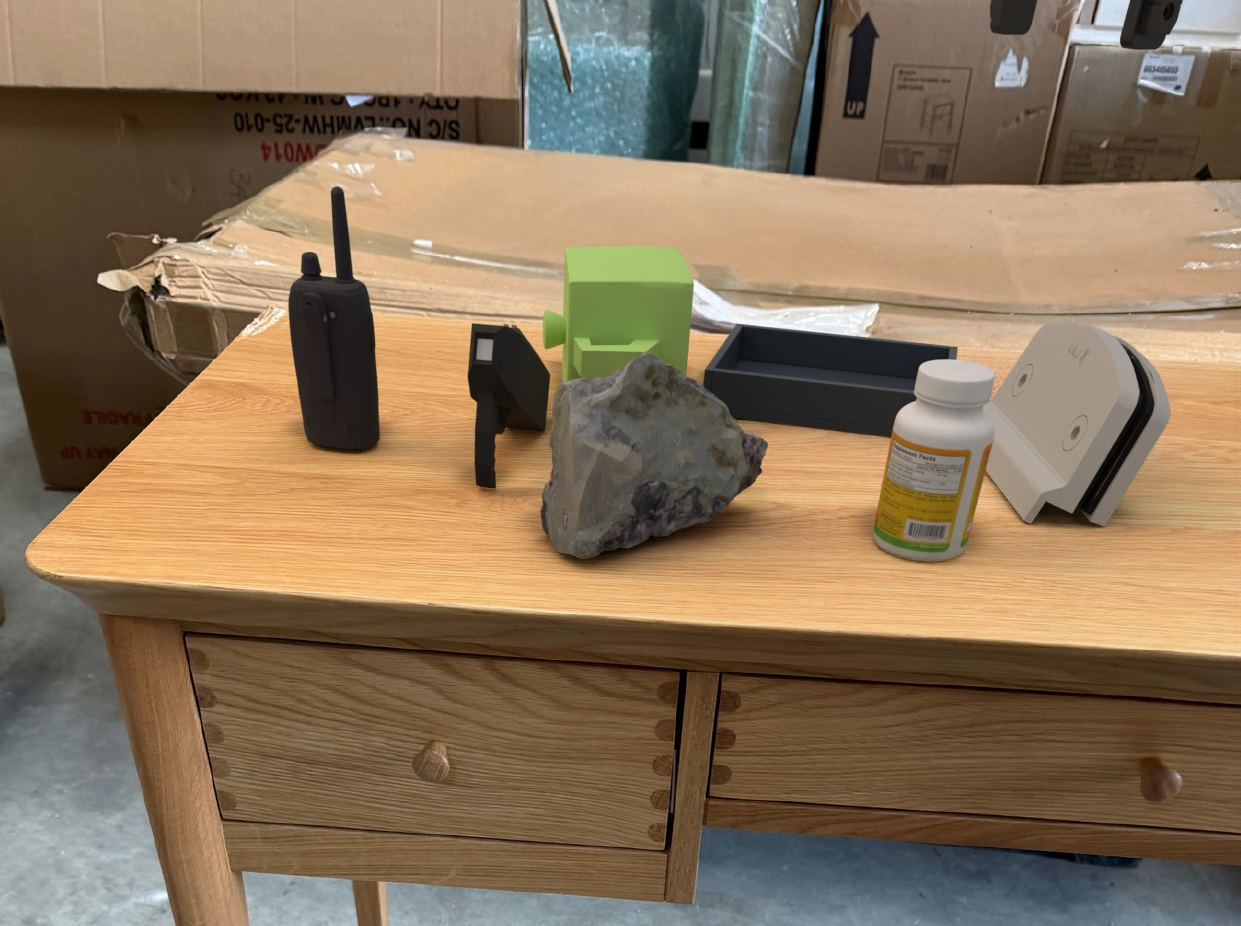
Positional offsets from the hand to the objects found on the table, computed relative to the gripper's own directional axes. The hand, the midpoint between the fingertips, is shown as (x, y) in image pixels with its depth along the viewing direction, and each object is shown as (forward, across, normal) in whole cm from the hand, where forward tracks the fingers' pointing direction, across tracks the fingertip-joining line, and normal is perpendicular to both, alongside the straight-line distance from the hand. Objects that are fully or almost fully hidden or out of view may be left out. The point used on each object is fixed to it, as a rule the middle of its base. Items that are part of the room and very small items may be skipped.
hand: (1070, 41), depth 57 cm
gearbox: (+24, +28, +9) cm, 38 cm away
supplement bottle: (+24, -3, +5) cm, 25 cm away
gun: (+24, +20, +21) cm, 38 cm away
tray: (+24, +21, -6) cm, 32 cm away
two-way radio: (+24, +25, +31) cm, 47 cm away
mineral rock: (+24, +4, +19) cm, 31 cm away
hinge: (+24, +2, -10) cm, 26 cm away
